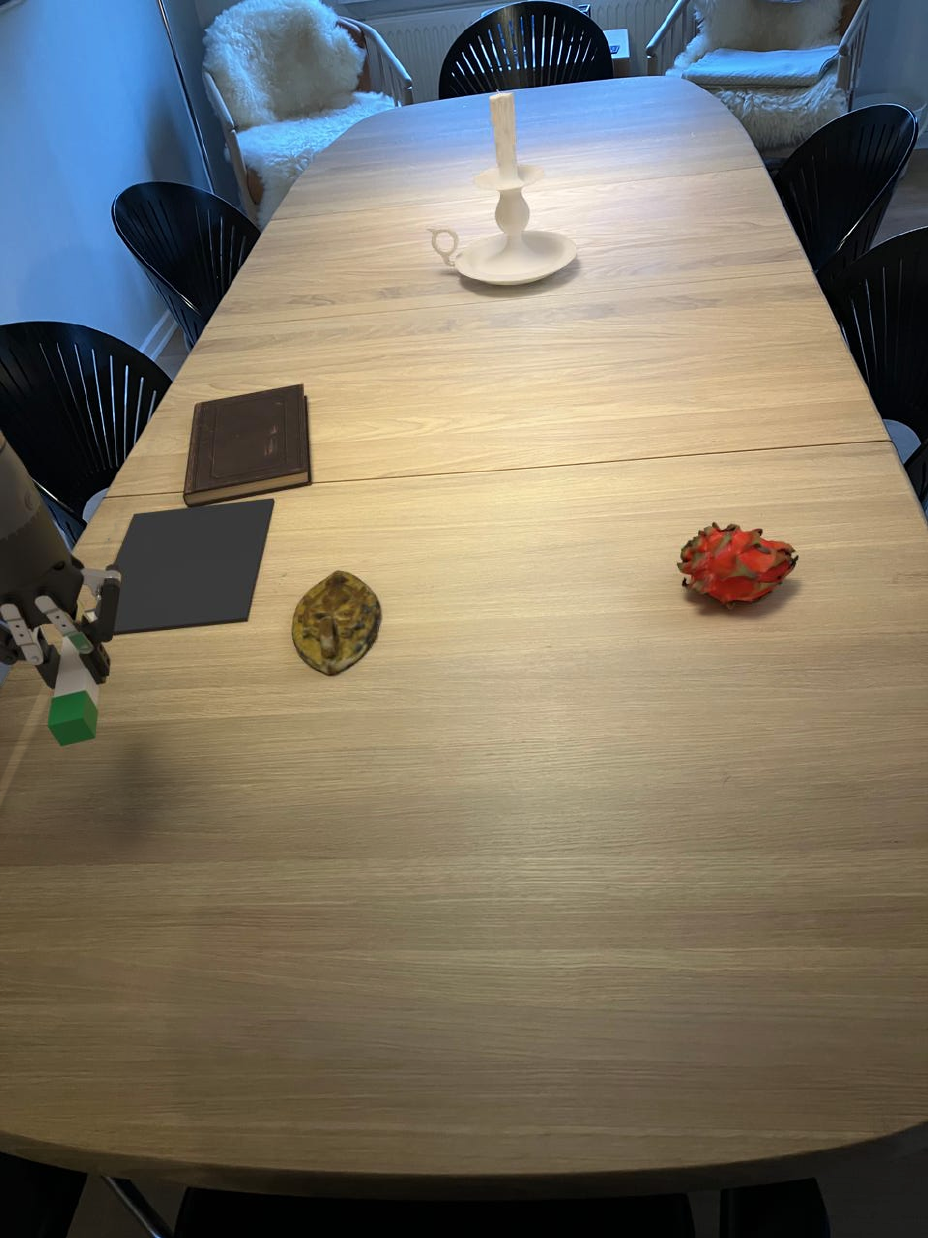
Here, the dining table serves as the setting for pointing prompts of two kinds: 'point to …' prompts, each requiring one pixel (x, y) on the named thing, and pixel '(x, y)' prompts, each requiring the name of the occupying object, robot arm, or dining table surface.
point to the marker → (74, 697)
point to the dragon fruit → (735, 563)
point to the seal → (335, 622)
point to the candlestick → (509, 217)
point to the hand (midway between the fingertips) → (83, 680)
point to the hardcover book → (248, 446)
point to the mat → (190, 566)
